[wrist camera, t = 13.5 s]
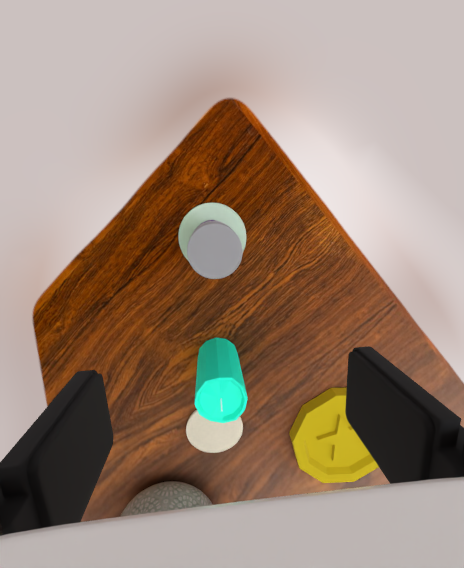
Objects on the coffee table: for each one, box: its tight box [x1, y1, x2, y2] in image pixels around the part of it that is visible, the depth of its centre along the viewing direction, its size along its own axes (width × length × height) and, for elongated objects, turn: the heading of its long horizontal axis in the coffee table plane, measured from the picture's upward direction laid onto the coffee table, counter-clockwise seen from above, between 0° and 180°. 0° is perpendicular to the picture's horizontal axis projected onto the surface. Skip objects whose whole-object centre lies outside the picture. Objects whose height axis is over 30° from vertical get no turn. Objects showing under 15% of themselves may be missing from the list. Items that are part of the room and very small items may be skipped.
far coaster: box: [186, 409, 243, 453], centre depth 44 cm, size 9×9×1 cm
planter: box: [120, 481, 213, 517], centre depth 39 cm, size 17×17×15 cm
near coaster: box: [178, 203, 246, 261], centre depth 37 cm, size 9×9×1 cm
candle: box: [195, 338, 248, 423], centre depth 35 cm, size 6×6×12 cm
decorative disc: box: [289, 388, 379, 483], centre depth 45 cm, size 17×18×2 cm
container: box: [187, 220, 243, 279], centre depth 29 cm, size 5×5×15 cm
